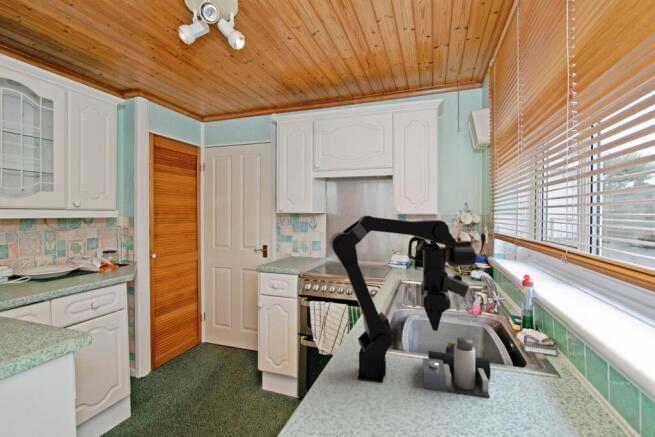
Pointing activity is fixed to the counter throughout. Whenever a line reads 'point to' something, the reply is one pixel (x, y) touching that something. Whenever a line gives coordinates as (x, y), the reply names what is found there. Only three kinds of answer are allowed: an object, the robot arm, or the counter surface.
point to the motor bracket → (451, 379)
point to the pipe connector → (449, 359)
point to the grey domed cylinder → (464, 363)
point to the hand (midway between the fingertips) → (433, 324)
